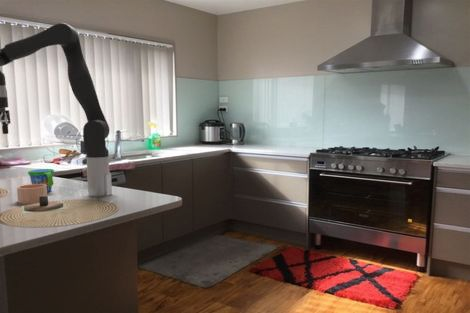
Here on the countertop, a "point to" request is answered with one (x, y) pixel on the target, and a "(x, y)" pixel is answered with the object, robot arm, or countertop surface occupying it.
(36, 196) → the bowl
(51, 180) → the snack cup
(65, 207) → the mat
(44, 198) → the lid
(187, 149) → the countertop surface
